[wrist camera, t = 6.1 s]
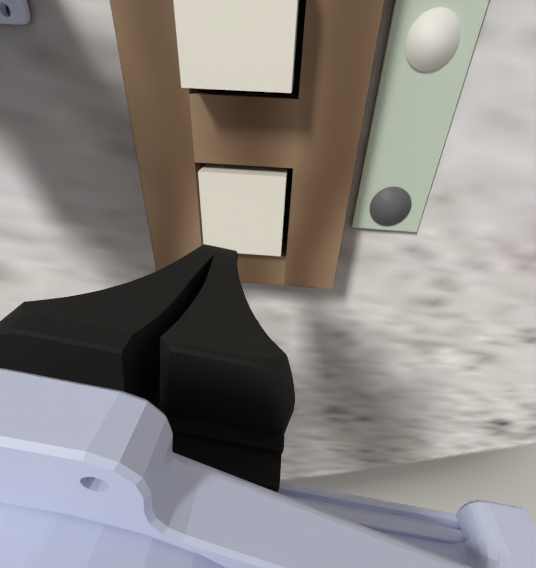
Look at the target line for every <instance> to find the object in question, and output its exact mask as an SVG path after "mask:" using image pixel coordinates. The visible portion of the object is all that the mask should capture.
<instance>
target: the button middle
mask: <svg viewBox="0 0 536 568" xmlns="http://www.w3.org/2000/svg"><path fill="white" fill-rule="evenodd" d="M173 2H174V13H175V24H176V35H177V46H178V57H179V68H180V79H181V88H197V89H218V90H238V91H258V92H279V93H292V91H293V83H294V69H295V54H296V40H297V26H298V11H299V0H173Z"/></svg>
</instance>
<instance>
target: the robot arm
mask: <svg viewBox="0 0 536 568" xmlns="http://www.w3.org/2000/svg"><path fill="white" fill-rule="evenodd" d="M6 6H8V7H9V9H10V12H11V14H10V17H9V16H8V14H7V12H6ZM29 21H30V11H29V7H28V4H27V0H0V24H18V25H25V24H28V23H29ZM237 261H238V253H237V251H235V250H230V249H225V248H221V247H216V246H211V245H206V244H203V245H202V246H200V247H198V248H197V249H195V250H193V251H192V252H190V253H189V254H187V255H185V256H184V257H182V258H180V259H179V260H177V261H175V262H174V263H172V264H170V265H168V266H166V267H164V268H162V269H160V270H158V271H156V272H154V273H152V274H149V275H147V276H144V277H142V278H139V279H137V280H134V281H131V282H128V283H125V284H121V285H118V286H114V287H111V288H107V289H104V290H100V291H95V292H91V293H86V294H81V295H75V296H70V297H63V298H55V299H47V300H38V301H29V302H24V303H22V304H21V305H20V306H18V307H17V308H16V309H15V310H14V311H12V312H11V313H10V314H9V315H7V316H6V317H5V318H4V319H3V320H1V321H0V568H536V526H535V525H534V523H533V521H532V519H531V517H530V515H529V513H528V511H527V510H525V509H524V508H521V507H515V506H510V505H505V504H500V503H494V502H489V501H481V500H477V501H471V502H469V503H467V504H465V505H464V506H462V507H461V508H460V510H459V511H458V512H457V514H452V513H447V512H441V511H436V510H431V509H425V508H420V507H415V506H409V505H404V504H398V503H392V502H387V501H382V500H376V499H371V498H366V497H360V496H355V495H349V494H344V493H339V492H333V491H328V490H323V489H317V488H311V487H306V486H301V485H296V484H290V483H285V482H280V469H281V454H282V452H283V448H284V433H285V431H286V428H287V426H288V423H289V421H290V418H291V415H292V413H293V410H294V404H295V392H294V384H293V378H292V373H291V369H290V365H289V361H288V357H287V355H286V354H285V353H284V352H283V351H282V350H281V349H280V348H279V347H278V346H277V345H276V344H275V343H274V342H273V341H272V340H271V339H270V338H269V336H268V335H267V334H266V333H265V331H264V330H263V328H262V327H261V325H260V324H259V322H258V321H257V319H256V318H255V316H254V314H253V313H252V311H251V309H250V307H249V305H248V302H247V300H246V298H245V295H244V292H243V289H242V286H241V282H240V278H239V274H238V267H237Z"/></svg>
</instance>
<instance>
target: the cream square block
mask: <svg viewBox="0 0 536 568" xmlns="http://www.w3.org/2000/svg"><path fill="white" fill-rule="evenodd" d="M287 175H288V168H280V167H263V166H247V165H231V164H214V163H207V164H206V165H205V166H203V167H202V168H201V169H200V170H199V171H198V179H199V192H200V205H201V218H202V231H203V244H206V245H211V246H216V247H221V248H225V249H230V250H235V251H237V253H242V254H255V255H268V256H281V250H282V241H283V232H284V218H285V204H286V190H287Z"/></svg>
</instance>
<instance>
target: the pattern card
mask: <svg viewBox="0 0 536 568" xmlns="http://www.w3.org/2000/svg"><path fill="white" fill-rule="evenodd" d="M488 2H489V0H395V2H394V7H393V12H392V17H391V22H390V28H389V33H388V38H387V43H386V49H385V54H384V59H383V64H382V69H381V75H380V80H379V85H378V90H377V95H376V101H375V106H374V111H373V116H372V121H371V127H370V132H369V137H368V142H367V148H366V153H365V158H364V163H363V168H362V174H361V179H360V184H359V189H358V194H357V200H356V205H355V210H354V215H353V220H352V228H366V229H381V230H395V231H409V232H417V229H418V226H419V223H420V220H421V217H422V213H423V210H424V207H425V204H426V201H427V197H428V194H429V191H430V188H431V185H432V181H433V178H434V175H435V172H436V169H437V165H438V162H439V159H440V156H441V153H442V149H443V146H444V143H445V140H446V137H447V133H448V130H449V127H450V124H451V121H452V117H453V114H454V111H455V108H456V105H457V101H458V98H459V95H460V92H461V89H462V86H463V82H464V79H465V76H466V73H467V70H468V66H469V63H470V60H471V57H472V54H473V50H474V47H475V44H476V41H477V38H478V34H479V31H480V28H481V25H482V22H483V18H484V15H485V12H486V9H487V6H488Z"/></svg>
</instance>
